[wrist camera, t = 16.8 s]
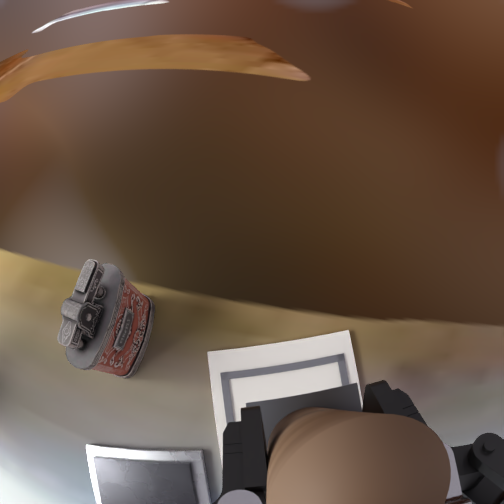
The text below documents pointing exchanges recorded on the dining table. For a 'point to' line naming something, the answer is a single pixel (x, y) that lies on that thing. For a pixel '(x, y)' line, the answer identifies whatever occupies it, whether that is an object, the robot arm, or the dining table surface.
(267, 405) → the stamp
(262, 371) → the marked board
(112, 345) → the lighter
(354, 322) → the dining table surface
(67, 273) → the dining table surface
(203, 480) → the ink pad
